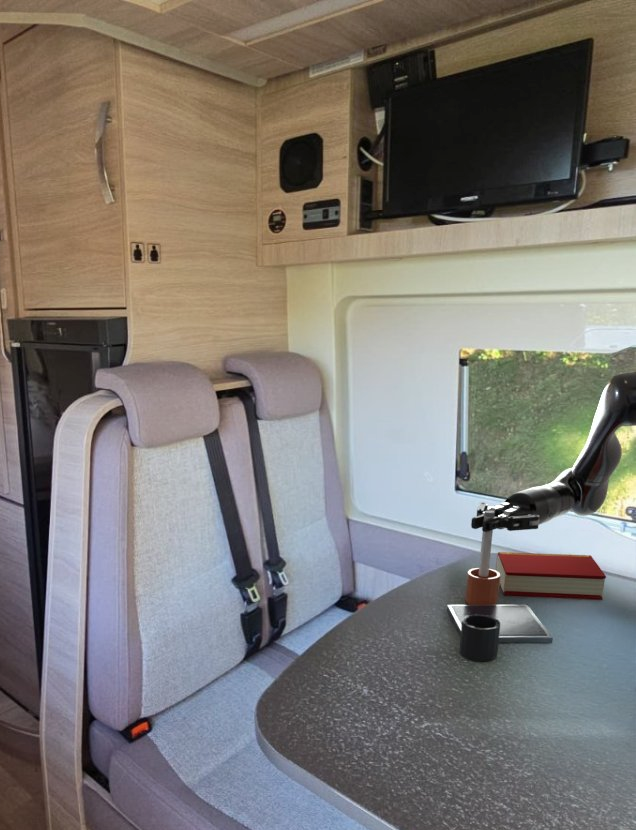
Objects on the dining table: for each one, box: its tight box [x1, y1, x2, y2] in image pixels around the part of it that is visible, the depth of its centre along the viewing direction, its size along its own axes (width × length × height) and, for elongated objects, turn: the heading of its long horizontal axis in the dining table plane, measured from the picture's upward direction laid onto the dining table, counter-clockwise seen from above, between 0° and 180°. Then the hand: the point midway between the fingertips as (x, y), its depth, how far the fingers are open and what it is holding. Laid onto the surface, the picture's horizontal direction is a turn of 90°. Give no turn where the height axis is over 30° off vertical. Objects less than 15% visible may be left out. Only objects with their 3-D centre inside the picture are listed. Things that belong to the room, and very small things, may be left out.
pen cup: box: [464, 567, 500, 605], centre depth 142 cm, size 6×6×6 cm
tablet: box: [446, 604, 554, 644], centre depth 132 cm, size 15×14×1 cm
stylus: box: [478, 510, 495, 577], centre depth 139 cm, size 2×2×13 cm
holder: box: [459, 614, 500, 663], centre depth 122 cm, size 6×6×6 cm
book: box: [495, 551, 607, 601], centre depth 148 cm, size 18×13×5 cm
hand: (478, 525), depth 135 cm, fingers closed on stylus, 2 cm apart
